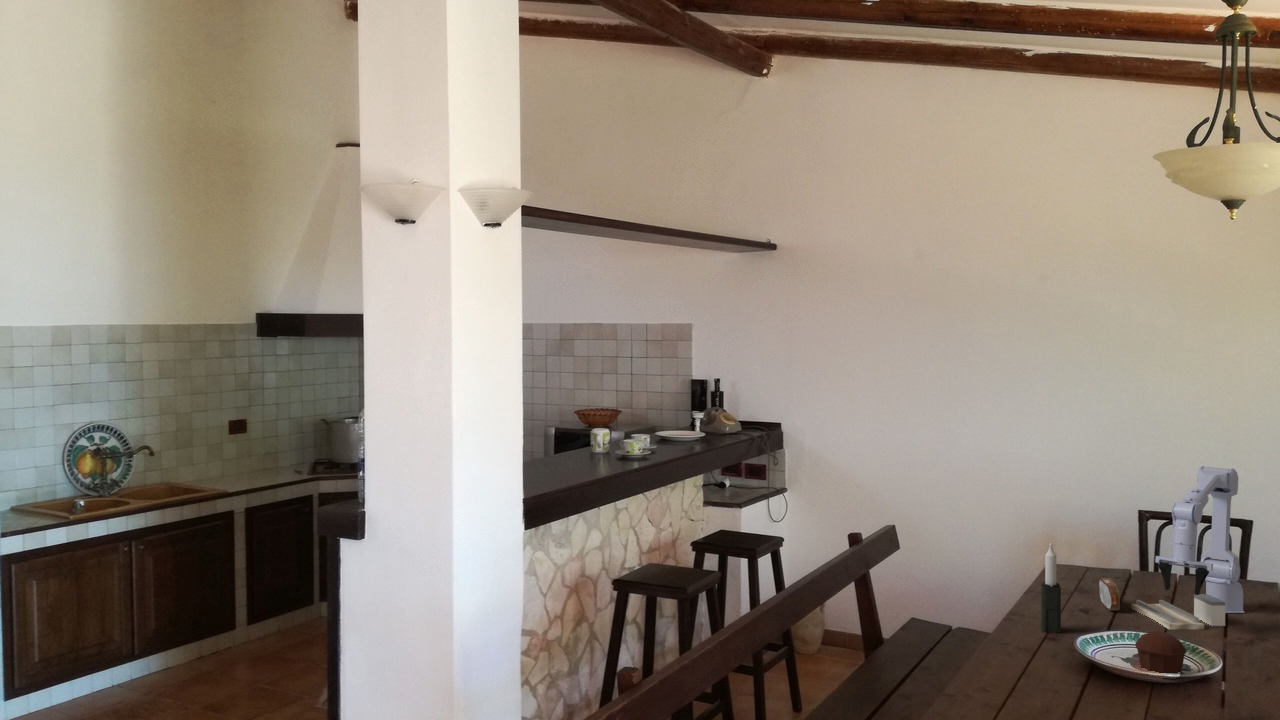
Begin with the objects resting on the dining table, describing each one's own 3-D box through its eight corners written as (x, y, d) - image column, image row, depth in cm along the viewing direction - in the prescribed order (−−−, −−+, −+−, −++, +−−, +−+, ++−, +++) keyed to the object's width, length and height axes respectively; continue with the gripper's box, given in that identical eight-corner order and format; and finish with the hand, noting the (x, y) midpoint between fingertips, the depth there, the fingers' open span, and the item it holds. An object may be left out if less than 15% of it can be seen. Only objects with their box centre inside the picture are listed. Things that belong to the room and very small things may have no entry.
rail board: (1163, 608, 307) (1163, 598, 306) (1204, 629, 285) (1204, 618, 284) (1131, 608, 307) (1131, 599, 306) (1169, 629, 285) (1169, 619, 284)
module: (1207, 617, 297) (1207, 594, 297) (1225, 626, 288) (1225, 602, 288) (1194, 617, 297) (1194, 594, 297) (1211, 626, 288) (1211, 602, 288)
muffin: (1126, 665, 254) (1127, 626, 253) (1171, 665, 253) (1171, 626, 253) (1149, 681, 242) (1149, 640, 242) (1195, 681, 241) (1195, 640, 241)
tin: (1121, 614, 301) (1121, 586, 301) (1109, 613, 301) (1109, 586, 301) (1108, 601, 316) (1108, 575, 315) (1097, 601, 316) (1097, 574, 316)
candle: (1059, 628, 286) (1059, 542, 286) (1061, 633, 281) (1061, 545, 281) (1040, 627, 288) (1040, 541, 287) (1041, 632, 283) (1041, 544, 282)
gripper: (1153, 540, 288) (1150, 588, 287) (1209, 548, 278) (1206, 597, 277) (1160, 540, 293) (1157, 587, 292) (1216, 548, 283) (1213, 596, 282)
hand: (1182, 592), depth 285 cm, fingers open, 7 cm apart
